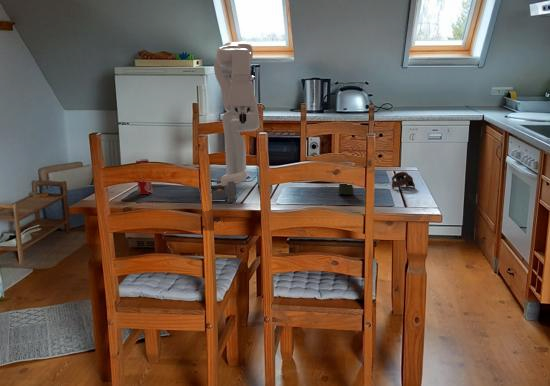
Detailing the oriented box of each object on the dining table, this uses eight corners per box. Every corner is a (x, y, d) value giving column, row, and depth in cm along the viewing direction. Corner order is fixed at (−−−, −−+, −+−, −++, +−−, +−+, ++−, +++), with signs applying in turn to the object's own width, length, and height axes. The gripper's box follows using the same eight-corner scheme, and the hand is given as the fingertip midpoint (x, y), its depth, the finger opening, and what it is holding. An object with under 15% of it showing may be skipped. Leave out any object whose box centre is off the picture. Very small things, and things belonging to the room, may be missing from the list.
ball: (220, 186, 240) (226, 192, 241) (214, 191, 241) (219, 197, 241) (220, 188, 237) (225, 194, 237) (213, 193, 237) (218, 199, 238)
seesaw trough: (218, 180, 247) (216, 173, 247) (248, 173, 247) (246, 166, 246) (215, 187, 235) (213, 179, 234) (248, 180, 234) (246, 172, 234)
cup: (210, 196, 244) (209, 178, 242) (226, 196, 244) (225, 177, 242) (208, 202, 235) (207, 182, 233) (225, 201, 235) (224, 182, 233)
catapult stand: (229, 194, 246) (228, 175, 244) (237, 194, 246) (236, 174, 245) (227, 203, 233) (226, 182, 231) (236, 202, 233) (235, 182, 231)
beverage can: (144, 196, 247) (142, 161, 244) (134, 194, 251) (132, 160, 248) (155, 193, 252) (153, 159, 249) (145, 191, 256) (143, 158, 252)
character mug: (354, 197, 237) (354, 166, 234) (336, 197, 238) (336, 166, 235) (354, 191, 247) (354, 161, 244) (337, 191, 248) (337, 161, 245)
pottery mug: (419, 191, 248) (413, 176, 244) (399, 201, 248) (392, 186, 245) (409, 178, 258) (403, 163, 254) (390, 188, 259) (384, 173, 255)
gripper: (259, 78, 247) (260, 122, 251) (224, 79, 247) (225, 122, 251) (259, 79, 240) (260, 124, 244) (222, 80, 240) (224, 124, 244)
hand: (242, 123), depth 248 cm, fingers closed
